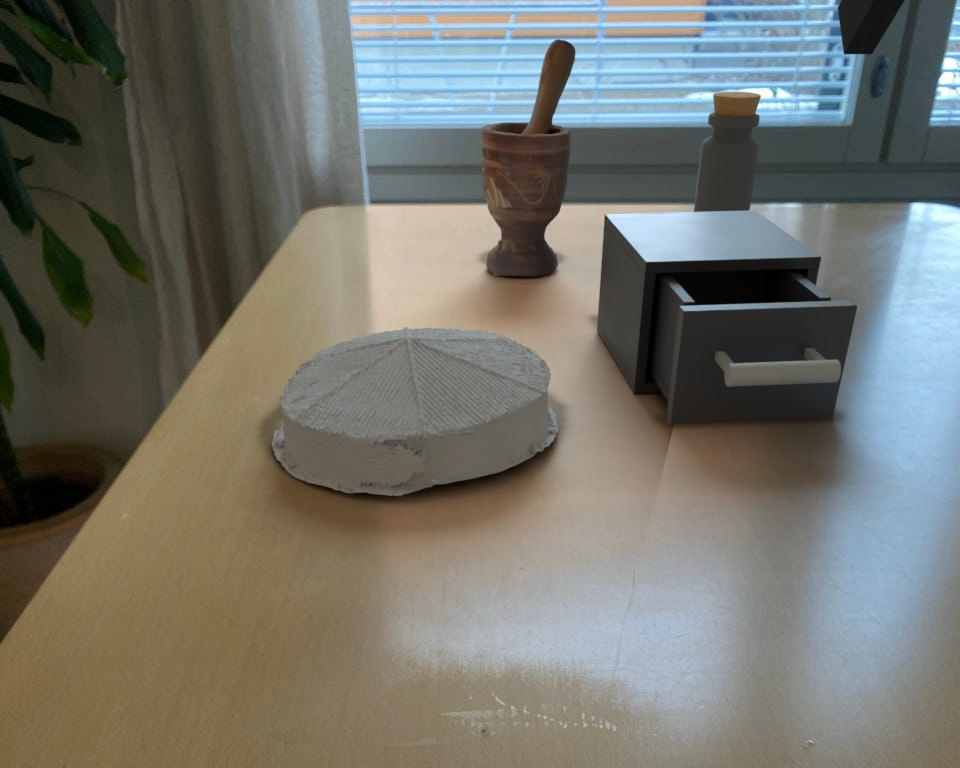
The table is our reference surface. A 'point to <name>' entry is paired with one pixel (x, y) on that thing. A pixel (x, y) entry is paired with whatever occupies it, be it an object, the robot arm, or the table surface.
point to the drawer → (747, 346)
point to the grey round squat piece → (414, 411)
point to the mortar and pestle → (528, 174)
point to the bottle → (729, 154)
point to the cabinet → (678, 269)
